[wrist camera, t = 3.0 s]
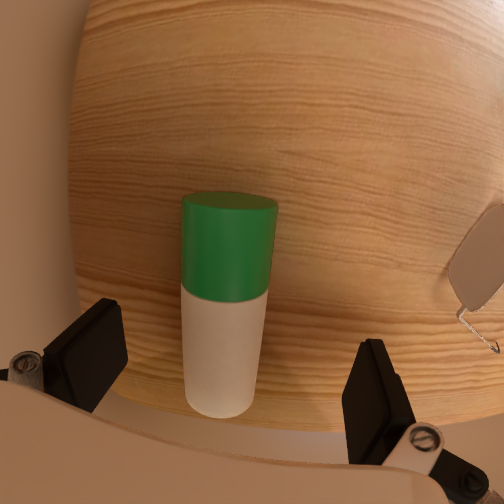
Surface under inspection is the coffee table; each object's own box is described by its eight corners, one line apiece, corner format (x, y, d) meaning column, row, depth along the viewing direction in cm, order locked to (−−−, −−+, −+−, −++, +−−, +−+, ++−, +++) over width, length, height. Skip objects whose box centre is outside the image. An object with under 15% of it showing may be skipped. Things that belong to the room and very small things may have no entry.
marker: (265, 387, 15) (231, 429, 12) (210, 363, 17) (171, 397, 14) (292, 201, 12) (249, 214, 9) (217, 188, 14) (162, 198, 11)
